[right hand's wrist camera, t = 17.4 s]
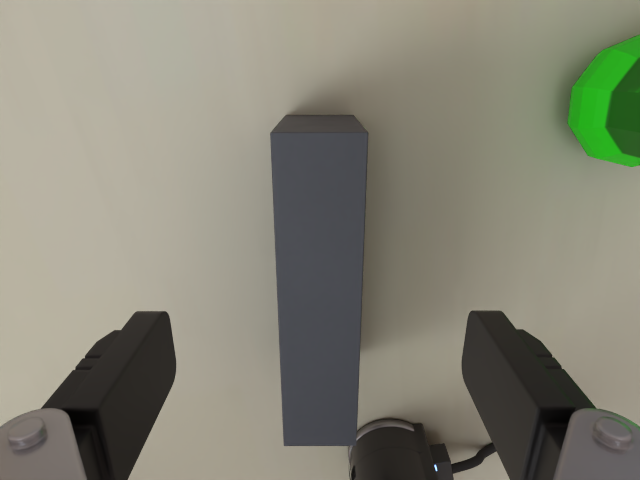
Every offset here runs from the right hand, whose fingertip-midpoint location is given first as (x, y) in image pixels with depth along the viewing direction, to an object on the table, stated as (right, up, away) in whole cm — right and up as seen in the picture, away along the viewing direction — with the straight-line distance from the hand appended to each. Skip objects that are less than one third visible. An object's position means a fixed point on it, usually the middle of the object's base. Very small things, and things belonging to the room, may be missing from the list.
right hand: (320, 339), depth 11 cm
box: (0, +2, +30) cm, 30 cm away
